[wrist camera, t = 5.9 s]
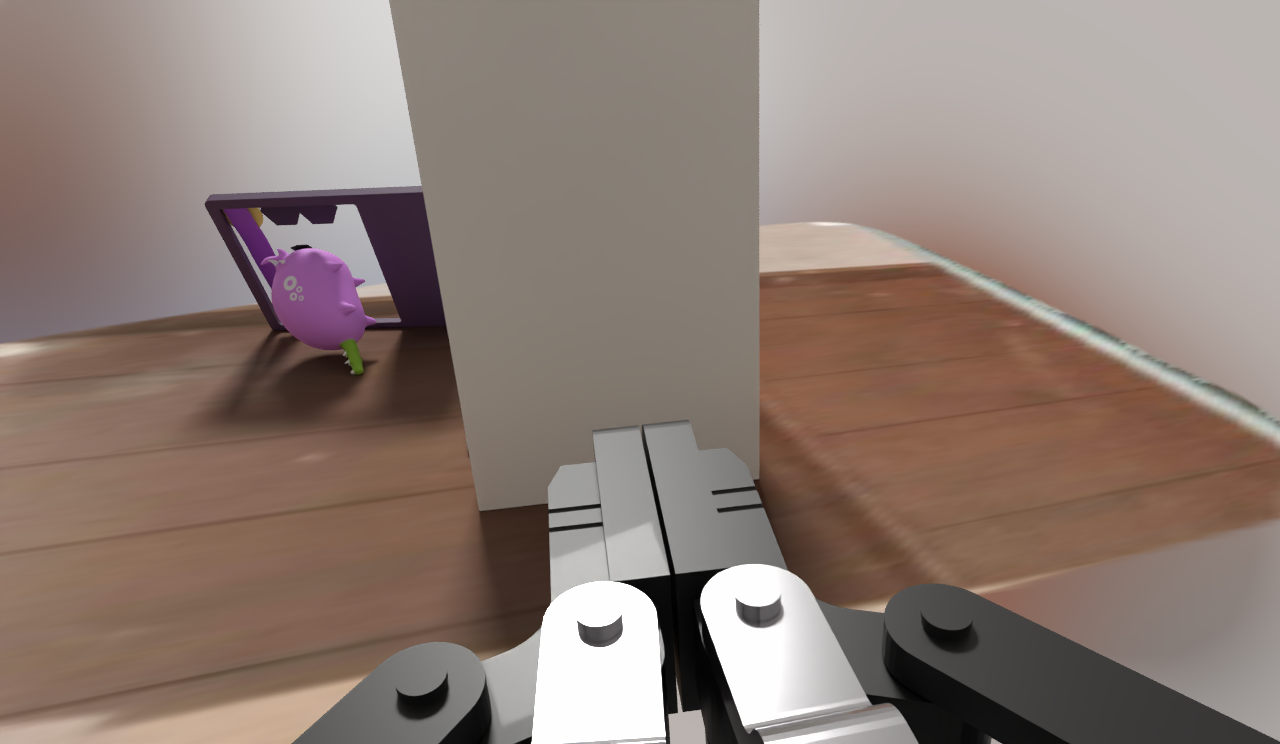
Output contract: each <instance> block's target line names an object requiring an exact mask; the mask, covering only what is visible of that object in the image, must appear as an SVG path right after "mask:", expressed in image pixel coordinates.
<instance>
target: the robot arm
mask: <svg viewBox="0 0 1280 744" xmlns="http://www.w3.org/2000/svg"><path fill="white" fill-rule="evenodd" d="M592 435H593V446H594V456H595V462H591V463H582V464H573V465H564V466H561V467H560V468H559V470H558V472H557V473H556V475H555V476H554V478H553V480H552V481H551V483H550V484H549V486H548V507H549V532H550V533H549V540H550V573H551V606H550V607H549V608H548V610H547V612H546V614H545V616H544V620H543V625H542V626H541V627H540V629H539V630H538V631H537V632H536V633H535V634H534V635H533V636H532V637H530V638H529V639H528V640H526V641H525V642H524V643H522V644H520V645H519V646H517V647H515V648H513V649H511V650H509V651H506V652H504V653H501V654H499V655H496V656H494V657H491V658H488V659H486V660H483V661H480V659H479V658H478V657H477V656H476V655H475V654H474V653H473V652H472V651H470V650H469V649H467V648H465V647H463V646H460V645H457V644H453V643H448V642H431V643H424V644H419V645H416V646H412V647H409V648H407V649H404V650H402V651H400V652H398V653H396V654H394V655H393V656H391V657H390V658H388V659H387V660H385V661H384V662H383V663H382V664H380V665H379V666H378V667H377V668H376V669H375V670H374V671H372V672H371V673H370V674H369V675H368V676H367V677H366V678H365V679H363V680H362V681H361V682H360V683H359V684H358V685H357V686H356V687H355V688H353V689H352V690H351V691H350V692H349V693H348V694H347V695H346V696H344V697H343V698H342V699H341V700H340V701H339V702H338V703H337V704H336V705H334V706H333V707H332V708H331V709H330V710H329V711H328V712H327V713H325V714H324V715H323V716H322V717H321V718H320V719H319V720H318V721H316V722H315V723H314V724H313V725H312V726H311V727H310V728H309V729H308V730H306V731H305V732H304V733H303V734H302V735H301V736H300V737H299V738H297V739H296V740H295V741H294V742H293V743H292V744H670V735H669V734H670V733H669V718H668V714H673V713H678V708H677V689H676V679H677V684H678V689H679V694H680V699H681V705H682V710H683V712H686V711H694V710H701V712H702V717H703V721H704V725H705V731H706V744H991V738H993V739H995V740H997V741H998V742H1000V743H1002V744H1280V742H1279V741H1277V740H1275V739H1273V738H1271V737H1269V736H1267V735H1265V734H1263V733H1261V732H1258V731H1257V730H1255V729H1252V728H1251V727H1248V726H1246V725H1244V724H1242V723H1240V722H1238V721H1236V720H1234V719H1232V718H1230V717H1228V716H1226V715H1224V714H1221V713H1220V712H1218V711H1216V710H1214V709H1211V708H1209V707H1207V706H1205V705H1203V704H1201V703H1199V702H1197V701H1195V700H1193V699H1191V698H1189V697H1187V696H1185V695H1183V694H1181V693H1179V692H1176V691H1174V690H1172V689H1170V688H1168V687H1166V686H1164V685H1162V684H1160V683H1158V682H1156V681H1154V680H1151V679H1150V678H1148V677H1145V676H1144V675H1141V674H1139V673H1137V672H1135V671H1133V670H1131V669H1129V668H1127V667H1125V666H1123V665H1121V664H1119V663H1116V662H1115V661H1113V660H1110V659H1109V658H1106V657H1104V656H1102V655H1100V654H1098V653H1096V652H1094V651H1092V650H1090V649H1088V648H1086V647H1084V646H1082V645H1080V644H1078V643H1075V642H1074V641H1071V640H1069V639H1067V638H1065V637H1063V636H1061V635H1059V634H1057V633H1055V632H1053V631H1051V630H1049V629H1047V628H1044V627H1043V626H1040V625H1039V624H1036V623H1034V622H1032V621H1030V620H1028V619H1026V618H1024V617H1022V616H1020V615H1018V614H1016V613H1014V612H1012V611H1010V610H1008V609H1005V608H1003V607H1001V606H999V605H997V604H995V603H993V602H991V601H989V600H987V599H985V598H983V597H981V596H979V595H977V594H975V593H972V592H970V591H968V590H965V589H962V588H959V587H955V586H950V585H945V584H922V585H916V586H912V587H909V588H906V589H904V590H902V591H900V592H898V593H897V594H896V595H894V596H893V597H892V598H891V600H890V601H889V602H888V604H887V606H886V608H885V613H878V612H870V611H862V610H853V609H847V608H841V607H837V606H834V605H830V604H827V603H825V602H822V601H820V600H818V599H816V598H814V596H813V594H812V592H811V590H810V589H809V587H808V586H807V585H806V584H805V583H804V582H803V581H802V580H801V579H800V578H799V577H797V576H796V575H794V574H792V573H791V572H789V571H788V569H787V566H786V564H785V561H784V559H783V556H782V553H781V551H780V548H779V546H778V543H777V541H776V538H775V535H774V533H773V530H772V528H771V525H770V523H769V520H768V517H767V515H766V512H765V510H764V508H762V502H761V500H760V497H759V494H758V492H757V490H756V489H755V484H754V482H753V479H752V476H751V474H750V471H749V469H748V466H747V464H746V463H744V462H743V461H742V460H741V459H739V458H738V457H737V456H736V455H735V454H733V453H732V452H731V451H730V450H729V449H727V448H717V449H708V450H698V447H697V444H696V440H695V437H694V434H693V431H692V427H691V424H690V422H689V420H679V421H670V422H661V423H651V424H642V439H641V434H640V429H639V426H638V425H634V426H625V427H616V428H606V429H597V430H592Z"/></svg>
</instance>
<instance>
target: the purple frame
mask: <svg viewBox="0 0 1280 744" xmlns="http://www.w3.org/2000/svg"><path fill="white" fill-rule="evenodd" d="M341 204H354V205H356V206H357V208H358V211H359V213H360V216H361V219H362V221H363V224H364V226H365V229H366V231H367V234H368V237H369V239H370V242H371V244H372V247H373V249H374V252H375V255H376V257H377V260H378V262H379V265H380V267H381V270H382V272H383V275H384V278H385V280H386V283H387V285H388V288H389V290H390V293H391V295H392V298H393V301H394V303H395V306H396V308H397V311H398V313H399V316H400V318H382V319H373V318H371V317H368V316H365V314H364V311H363V308H362V305H361V302H360V300H359V297H358V294H357V291H356V288H355V287H357V286H359V285H360V284H362V283H363V282H365V280H364V279H359V278H354V277H352V275H351V272H350V270H349V268H348V267H347V265H346V264H345V263H344V262H343V261H342V260H341V259H340V258H339V257H337V256H335V255H333V254H331V253H329V252H326V251H323V250H319V249H313V248H312V247H310V246H309V245H296V246H294V247H291V249H293V250H295V251H294V252H292V253H291V254H287V252H286V251H284V250H282V249H277V250H278V253H279V256H275V254H274V252H273V250H272V248H271V246H270V244H269V242H268V240H267V239H266V237H265V235H264V234H263V232H262V231H261V229H260V228H259V227H260V226H261V224H262V223H263V215H262V213H263V214H264V215H265V216H267V217H268V218H269V219H270V220H271V221H273V222H274V223H275V224H276V225H296V224H297V223H298V218H299V214H300V213H301V214H302V215H303V216H304V217H305V218H307V219H308V220H309V221H310V222H311V223H312V224H327V223H333V221H334V218H335V214H336V210H337V206H336V205H341ZM205 207H206V209H207V210H208V212H209V214H210V216H211V218H212V219H213V222H214V223H215V225H216V227H217V229H218V231H219V233H220V234H221V236H222V238H223V240H224V242H225V243H226V246H227V247H228V249H229V251H230V253H231V255H232V257H233V258H234V260H235V262H236V264H237V266H238V268H239V270H240V271H241V273H242V275H243V277H244V279H245V281H246V282H247V284H248V286H249V288H250V290H251V292H252V294H253V295H254V297H255V299H256V301H257V303H258V305H259V306H260V308H261V310H262V312H263V314H264V316H265V318H266V319H267V321H268V323H269V325H270V327H271V328H272V329H273V330H288V331H289V332H290V333H291V334H292V335H293V336H294V337H296V338H297V339H298V340H300V341H301V342H303V343H305V344H307V345H309V346H312V347H314V348H318V349H323V350H340V349H344V350H345V352H344V354H343V356H345V355H346V357H348V361H346V362H345V364H347V363H349V366H350V365H351V366H352V371H351V372H350V373H352V374H357V375H360V374H362V373H363V371H364V370H363V366H362V359H361V357H360V354H359V349H358V347H357V345H356V343H357V342H358V341H359V340H360V339H361V338H362V336H363V334H364V331H365V328H381V327H427V326H446V320H445V314H444V309H443V303H442V297H441V292H440V286H439V280H438V275H437V269H436V263H435V258H434V252H433V246H432V241H431V235H430V229H429V223H428V218H427V212H426V206H425V201H424V195H423V189H422V186H411V187H387V188H364V189H363V188H362V189H337V190H312V191H287V192H263V193H238V194H213V195H210V196H209V198H208V199H207V201H206V202H205ZM260 208H261V210H260ZM261 212H262V213H261ZM230 224H231V225H232V226H234V227H235V228H236V230H237V231H238V233H239V234H240V236H241V237H242V239H243V240H244V242H245V244H246V246H247V247H248V249H249V251H250V253H251V255H252V257H253V258H254V260H255V262H256V264H257V265H258V267H259V269H260V270H261V272H262V274H263V275H264V277H265V279H266V280H267V282H268V284H269V286H270V287H271V289H272V303H273V305H272V303H271V301H270V299H269V298H268V295H267V293H266V292H265V290H264V288H263V286H262V284H261V282H260V280H259V278H258V276H257V274H256V273H255V271H254V269H253V267H252V265H251V263H250V261H249V259H248V257H247V255H246V253H245V252H244V250H243V248H242V246H241V244H240V242H239V240H238V238H237V236H236V235H235V233H234V231H233V229H232V227H231V225H230ZM346 357H345V358H346Z"/></svg>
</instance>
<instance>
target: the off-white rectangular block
mask: <svg viewBox="0 0 1280 744" xmlns="http://www.w3.org/2000/svg"><path fill="white" fill-rule="evenodd" d="M389 2H390V8H391V13H392V19H393V24H394V30H395V36H396V41H397V47H398V53H399V58H400V64H401V69H402V76H403V81H404V87H405V92H406V99H407V103H408V110H409V115H410V121H411V127H412V132H413V138H414V144H415V149H416V155H417V161H418V167H419V172H420V178H421V184H422V189H423V195H424V201H425V206H426V212H427V218H428V223H429V229H430V235H431V241H432V246H433V252H434V258H435V263H436V269H437V275H438V280H439V286H440V292H441V297H442V303H443V309H444V314H445V320H446V326H447V331H448V337H449V343H450V348H451V354H452V360H453V365H454V371H455V377H456V382H457V388H458V394H459V400H460V405H461V411H462V417H463V422H464V428H465V434H466V439H467V445H468V451H469V456H470V462H471V468H472V473H473V479H474V485H475V490H476V496H477V502H478V507H479V511H485V510H494V509H503V508H511V507H520V506H529V505H537V504H546V503H548V486H549V484H550V483H551V481H552V480H553V478H554V476H555V475H556V473H557V472H558V470H559V468H560V467H561V466H564V465H573V464H582V463H591V462H595V456H594V446H593V435H592V430H597V429H606V428H616V427H625V426H634V425H638V426H639V429H640V434H641V439H642V424H651V423H661V422H670V421H679V420H689V422H690V424H691V427H692V431H693V434H694V437H695V440H696V444H697V447H698V450H708V449H717V448H727V449H729V450H730V451H731V452H732V453H733V454H735V455H736V456H737V457H738V458H739V459H741V460H742V461H743V462H744V463H746V464H747V466H748V469H749V471H750V474H751V476H752V479H753V480H755V479H759V0H389Z"/></svg>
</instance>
